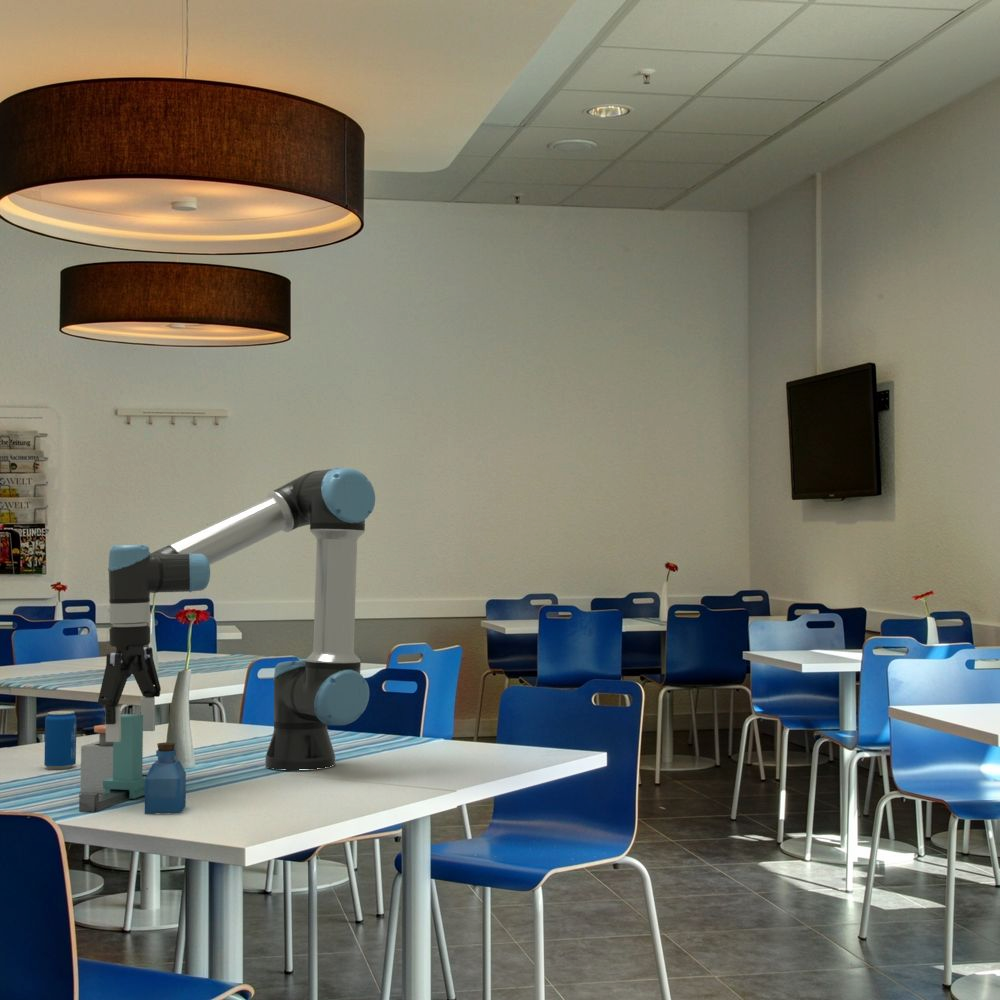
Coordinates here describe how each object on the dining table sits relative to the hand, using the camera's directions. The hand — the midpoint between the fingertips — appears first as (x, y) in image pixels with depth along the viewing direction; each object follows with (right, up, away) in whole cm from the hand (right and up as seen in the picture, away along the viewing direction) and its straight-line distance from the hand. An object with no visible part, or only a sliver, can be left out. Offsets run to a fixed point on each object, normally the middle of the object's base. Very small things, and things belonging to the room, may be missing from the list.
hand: (131, 736), depth 249 cm
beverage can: (-25, -13, +34) cm, 44 cm away
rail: (-1, -11, -4) cm, 12 cm away
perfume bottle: (+10, -11, -14) cm, 21 cm away
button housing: (-7, -12, +6) cm, 15 cm away
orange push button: (-7, -5, +6) cm, 11 cm away
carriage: (0, -11, -1) cm, 11 cm away
